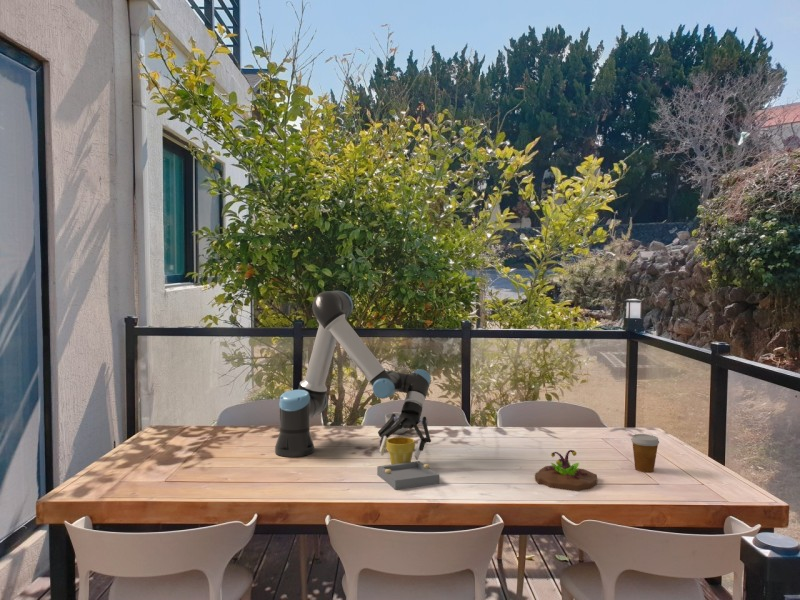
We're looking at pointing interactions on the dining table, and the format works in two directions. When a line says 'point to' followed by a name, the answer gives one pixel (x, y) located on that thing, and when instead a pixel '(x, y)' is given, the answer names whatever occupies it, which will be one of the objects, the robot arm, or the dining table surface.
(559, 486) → the plant
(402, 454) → the plant pot
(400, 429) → the teacup
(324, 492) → the dining table surface
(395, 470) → the base
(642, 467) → the disposable coffee cup
